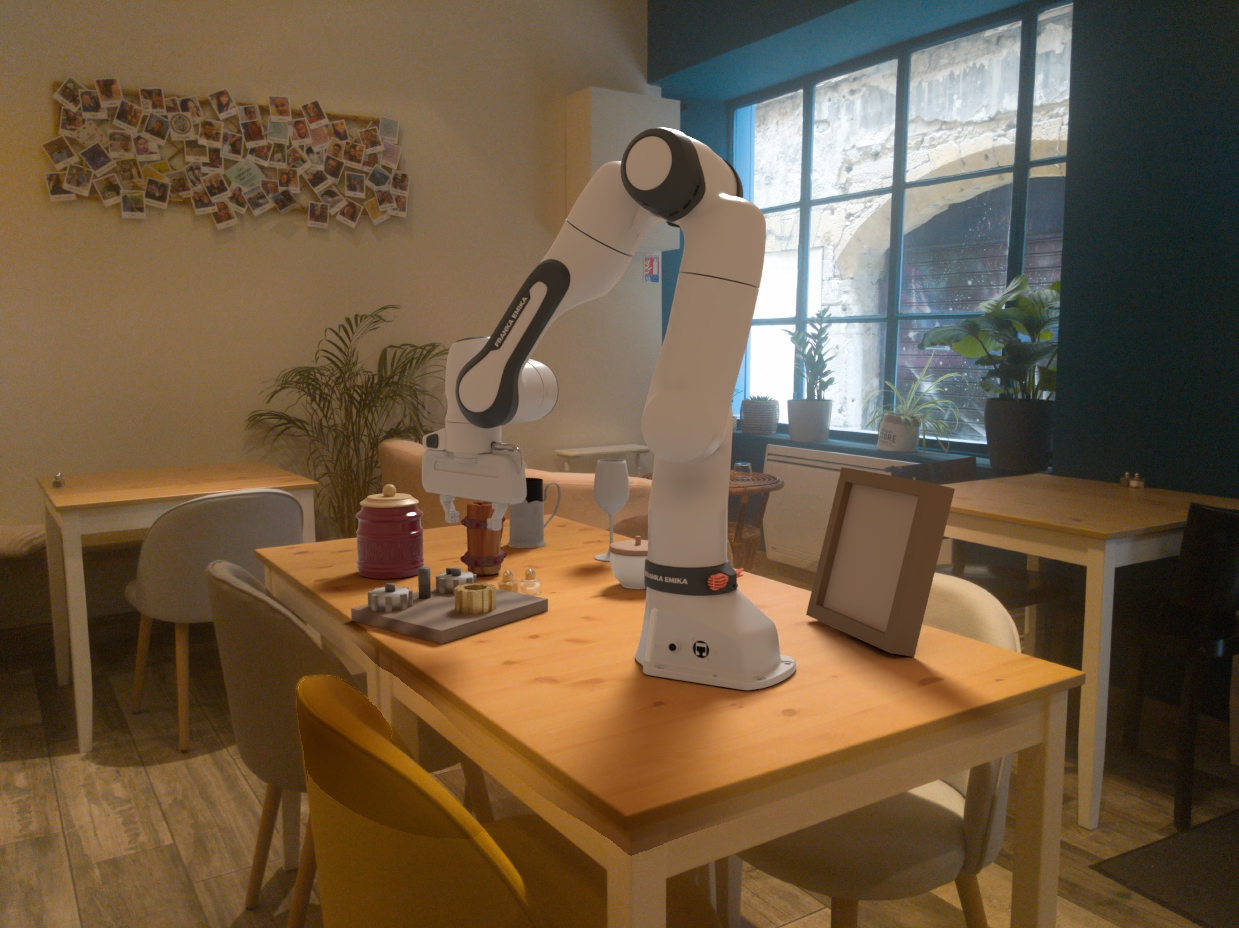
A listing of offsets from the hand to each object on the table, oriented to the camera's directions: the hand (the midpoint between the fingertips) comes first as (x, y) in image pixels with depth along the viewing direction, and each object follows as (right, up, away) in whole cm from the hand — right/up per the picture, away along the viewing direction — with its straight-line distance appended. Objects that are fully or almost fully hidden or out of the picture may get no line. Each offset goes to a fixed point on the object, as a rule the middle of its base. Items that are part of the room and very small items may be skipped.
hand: (472, 526), depth 151 cm
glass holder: (+4, -9, +68) cm, 68 cm away
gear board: (-4, -15, +5) cm, 16 cm away
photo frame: (+65, -17, -5) cm, 67 cm away
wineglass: (+22, -10, +51) cm, 57 cm away
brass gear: (0, -13, +1) cm, 13 cm away
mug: (-3, -12, +38) cm, 40 cm away
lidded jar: (+27, -13, +27) cm, 40 cm away
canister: (-22, -12, +36) cm, 44 cm away
